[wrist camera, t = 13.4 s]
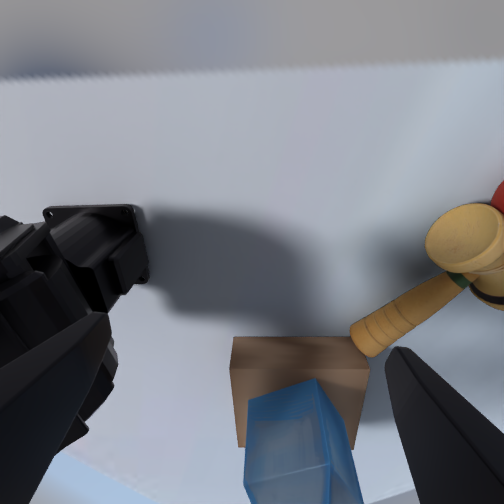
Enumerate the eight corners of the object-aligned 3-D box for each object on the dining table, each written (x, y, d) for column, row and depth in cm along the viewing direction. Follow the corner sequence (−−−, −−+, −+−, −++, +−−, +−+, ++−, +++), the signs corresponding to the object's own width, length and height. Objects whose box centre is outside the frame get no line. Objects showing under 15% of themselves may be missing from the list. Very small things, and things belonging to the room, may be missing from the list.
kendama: (393, 339, 28) (625, 196, 18) (404, 398, 22) (741, 240, 13) (329, 290, 27) (536, 116, 18) (325, 339, 22) (618, 128, 12)
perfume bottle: (281, 438, 28) (290, 651, 17) (248, 399, 25) (235, 620, 15) (344, 420, 26) (397, 644, 15) (315, 377, 24) (355, 609, 13)
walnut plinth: (241, 413, 32) (238, 447, 29) (233, 336, 27) (229, 368, 23) (344, 414, 31) (353, 449, 28) (357, 336, 26) (370, 369, 23)
